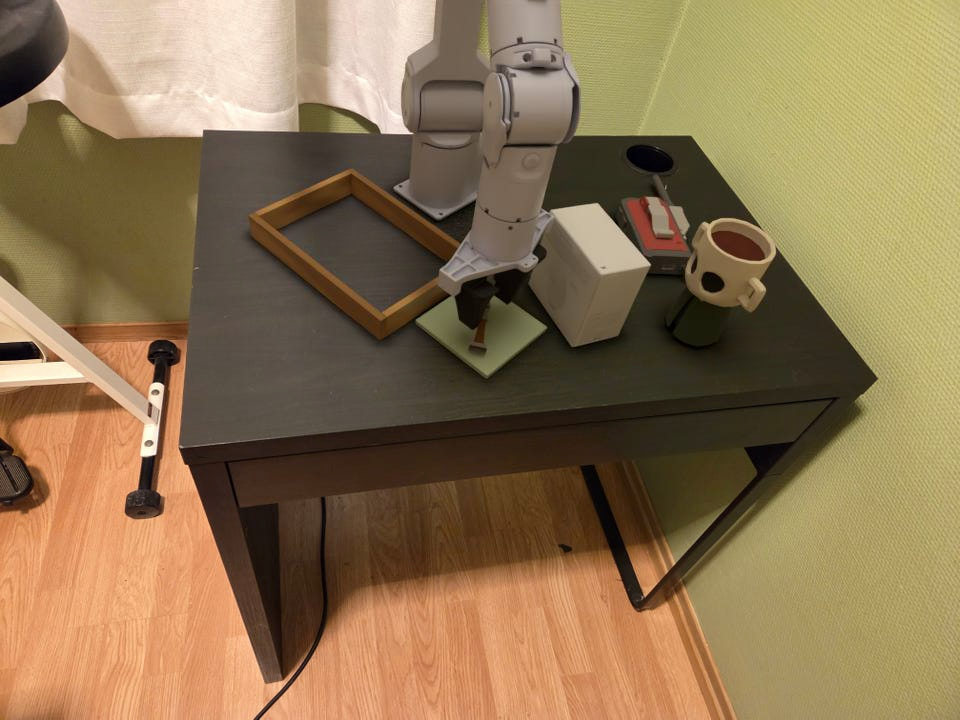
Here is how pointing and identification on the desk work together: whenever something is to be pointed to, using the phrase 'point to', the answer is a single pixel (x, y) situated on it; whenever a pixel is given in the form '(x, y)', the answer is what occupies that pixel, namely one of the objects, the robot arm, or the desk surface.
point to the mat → (503, 333)
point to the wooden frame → (326, 283)
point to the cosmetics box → (587, 274)
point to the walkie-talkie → (656, 230)
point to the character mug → (720, 278)
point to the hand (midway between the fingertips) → (485, 310)
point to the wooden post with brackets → (481, 329)
